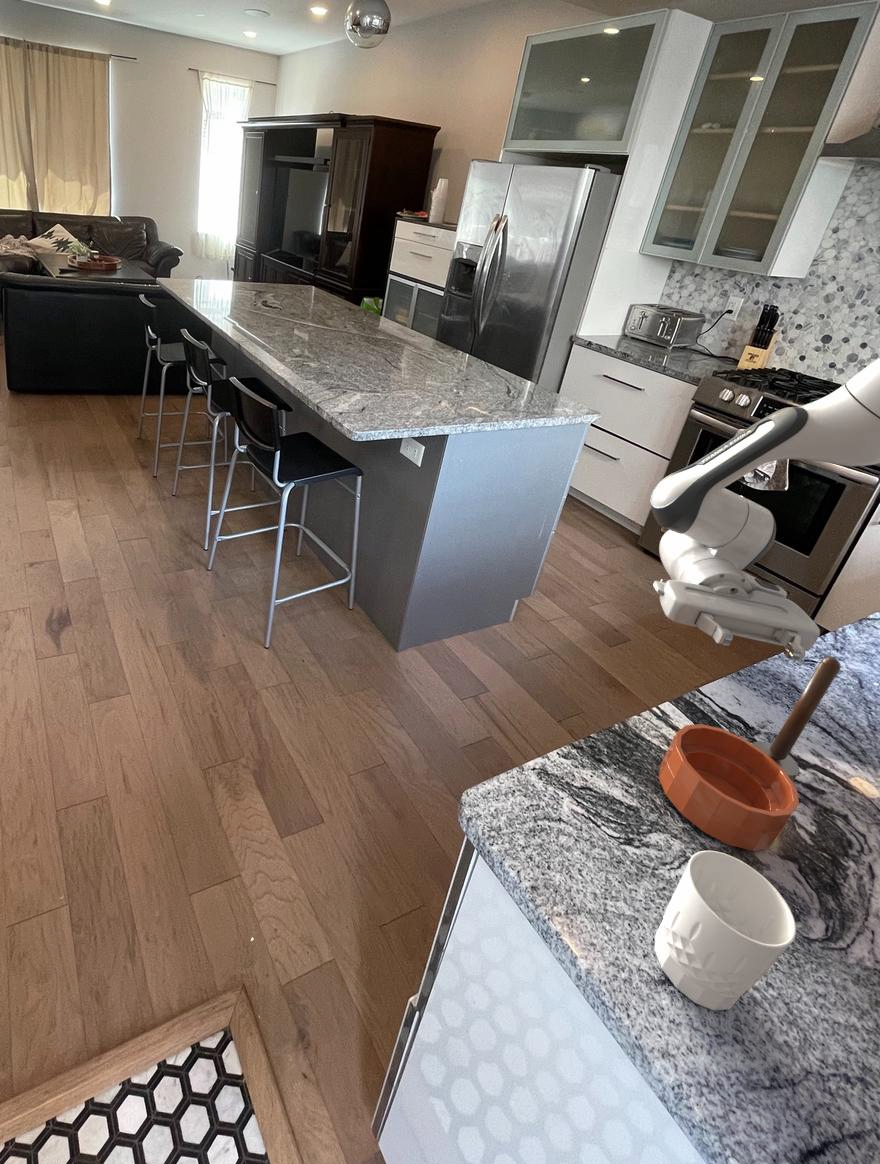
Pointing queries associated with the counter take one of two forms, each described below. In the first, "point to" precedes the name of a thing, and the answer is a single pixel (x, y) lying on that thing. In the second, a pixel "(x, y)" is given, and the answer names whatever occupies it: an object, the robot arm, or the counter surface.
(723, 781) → the bowl
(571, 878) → the counter surface
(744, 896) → the white cup
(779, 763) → the wooden peg on disc
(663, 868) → the counter surface
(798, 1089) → the counter surface
